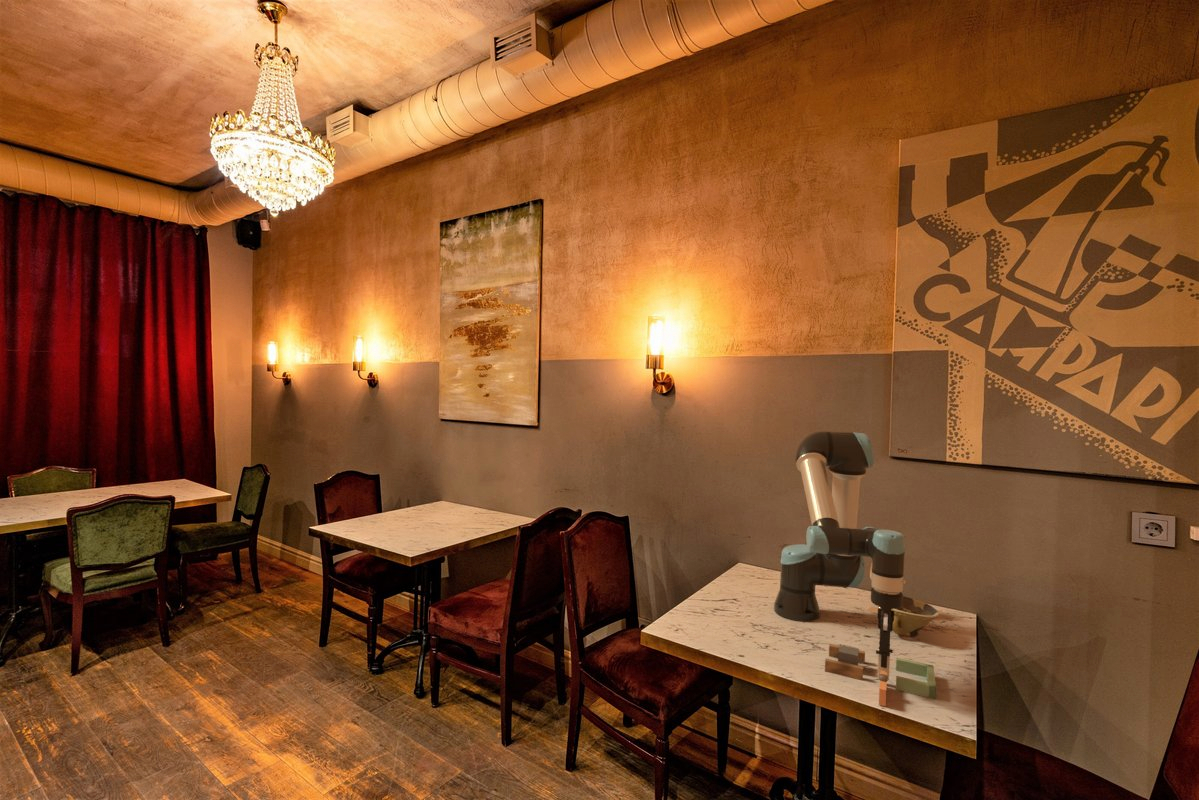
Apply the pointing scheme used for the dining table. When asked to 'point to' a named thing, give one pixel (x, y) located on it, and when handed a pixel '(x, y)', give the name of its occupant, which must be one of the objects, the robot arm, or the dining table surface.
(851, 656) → the block
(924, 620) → the bowl
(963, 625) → the dining table surface
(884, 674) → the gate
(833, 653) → the clip rails
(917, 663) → the bracket
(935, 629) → the dining table surface
